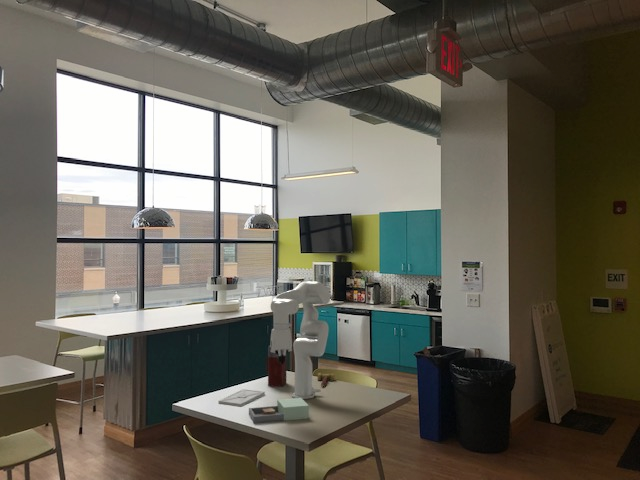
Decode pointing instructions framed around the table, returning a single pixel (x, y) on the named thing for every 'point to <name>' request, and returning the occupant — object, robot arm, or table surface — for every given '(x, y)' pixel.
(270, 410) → the tile
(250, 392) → the envelope
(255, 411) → the tray
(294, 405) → the mint green lidded box
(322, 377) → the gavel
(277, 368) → the red liquor decanter
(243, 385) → the table surface
